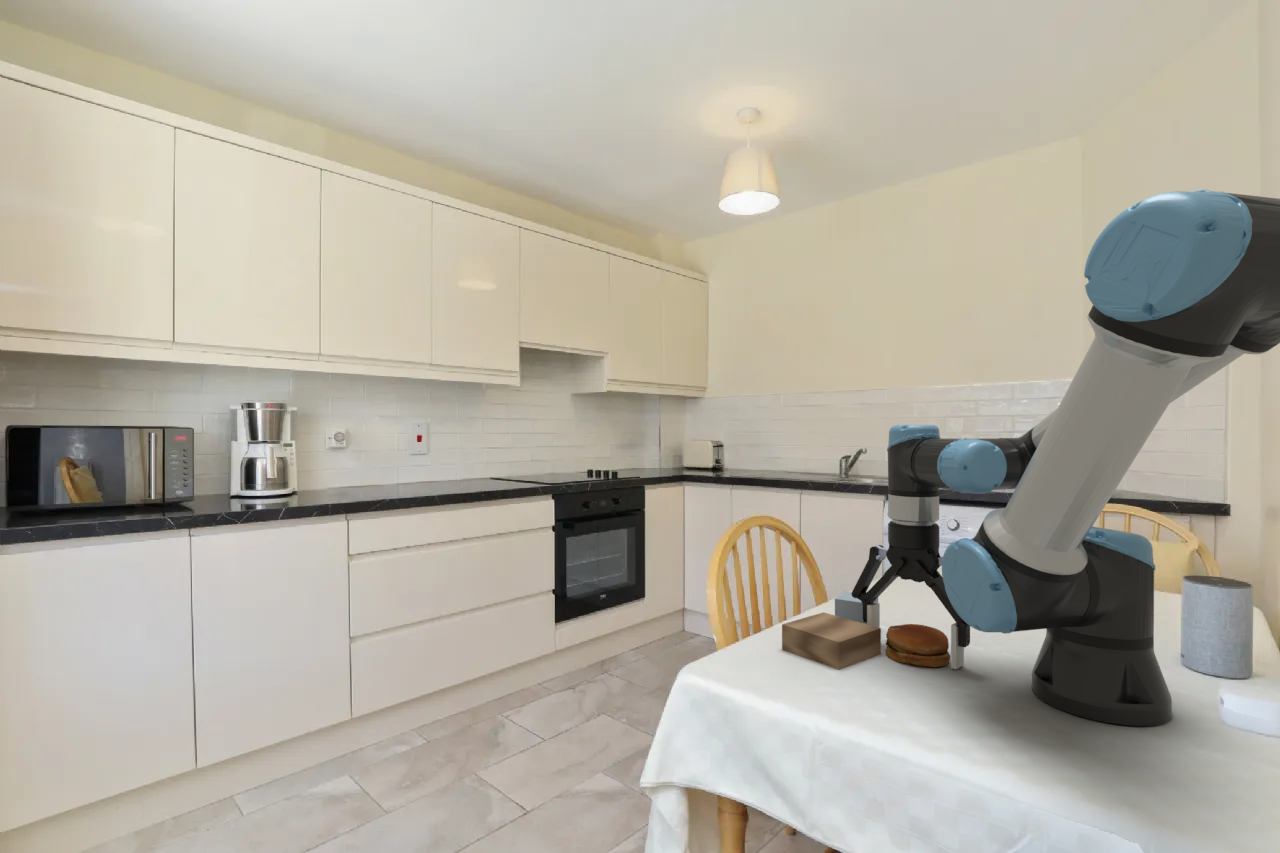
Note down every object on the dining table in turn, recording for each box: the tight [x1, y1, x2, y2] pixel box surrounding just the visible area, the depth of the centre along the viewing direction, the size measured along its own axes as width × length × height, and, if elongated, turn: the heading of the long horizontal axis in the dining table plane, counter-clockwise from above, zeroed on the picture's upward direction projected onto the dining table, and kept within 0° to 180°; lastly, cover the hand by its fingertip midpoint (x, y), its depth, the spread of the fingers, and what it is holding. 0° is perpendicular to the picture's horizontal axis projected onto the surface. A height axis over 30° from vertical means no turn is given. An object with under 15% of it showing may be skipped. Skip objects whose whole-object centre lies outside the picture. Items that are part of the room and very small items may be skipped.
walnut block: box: [781, 611, 882, 671], centre depth 105 cm, size 11×11×4 cm
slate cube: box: [834, 590, 879, 624], centre depth 115 cm, size 6×6×6 cm
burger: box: [885, 623, 951, 668], centre depth 102 cm, size 10×9×5 cm
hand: (913, 654), depth 103 cm, fingers open, 13 cm apart
